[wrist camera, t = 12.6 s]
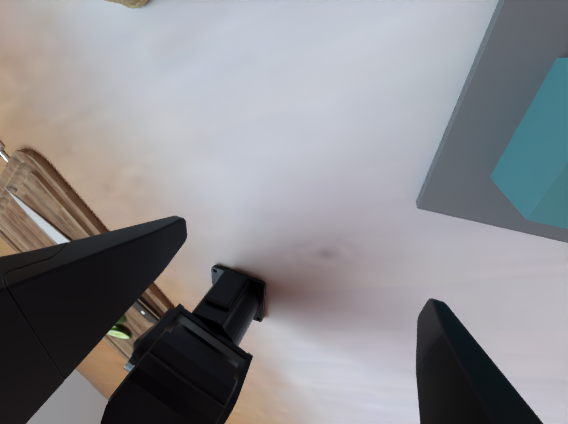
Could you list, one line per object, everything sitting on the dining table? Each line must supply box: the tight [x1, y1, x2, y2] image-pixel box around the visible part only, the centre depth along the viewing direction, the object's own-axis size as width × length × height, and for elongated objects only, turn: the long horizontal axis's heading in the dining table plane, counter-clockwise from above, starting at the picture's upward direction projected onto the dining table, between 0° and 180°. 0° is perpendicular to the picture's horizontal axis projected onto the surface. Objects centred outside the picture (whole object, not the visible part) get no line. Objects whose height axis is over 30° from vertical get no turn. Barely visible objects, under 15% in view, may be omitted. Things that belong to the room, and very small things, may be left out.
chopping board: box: [0, 142, 174, 362], centre depth 41 cm, size 45×27×3 cm, turn 33°
